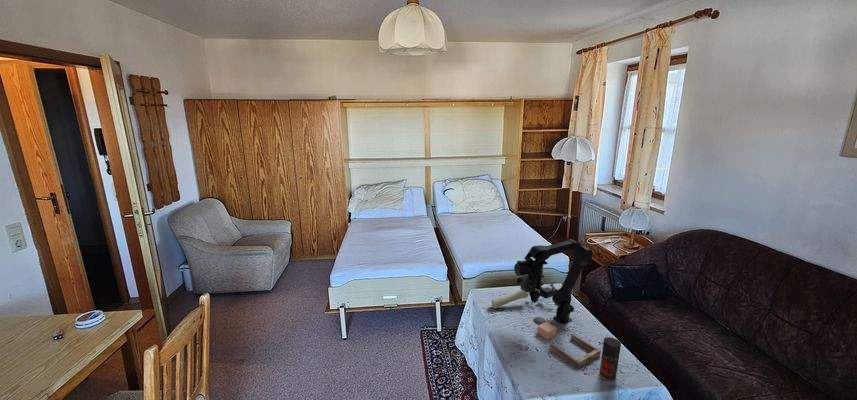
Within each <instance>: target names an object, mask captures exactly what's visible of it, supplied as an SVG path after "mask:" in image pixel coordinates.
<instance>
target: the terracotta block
mask: <svg viewBox="0 0 857 400" xmlns="http://www.w3.org/2000/svg"><path fill="white" fill-rule="evenodd" d="M536 330H537V331H536V332H537V334H538V335H540V336H542V337H543V338H545V339H546V340H549V339H551V338H553V337H555V336H557V327H556V326H554V325H552V324H551V323H549V322H547V321H546V322H545V323H542V324H537V329H536Z"/></svg>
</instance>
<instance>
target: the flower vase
mask: <svg viewBox="0 0 857 400" xmlns="http://www.w3.org/2000/svg"><path fill="white" fill-rule="evenodd" d="M549 287H550V289H552V290H554V291H555V289H557V288H556V287H555V285H554V282H550V284H549ZM528 297H530V294H529V293H528V292H525V291H524V290H519V291H516V292H514V293H512V294H509V295H504V296H502V297H498V298H495V299H491V306H492V307H493V309H494V310H495V309H498V308H500V307H502V306H505V305H507V304H509V303H512V302H514V301H517V300H520V299H527V298H528ZM536 303H537V304H538V305H540V303H539V301H538V300H537V302H536Z"/></svg>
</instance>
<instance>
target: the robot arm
mask: <svg viewBox="0 0 857 400" xmlns="http://www.w3.org/2000/svg"><path fill="white" fill-rule="evenodd" d="M569 251H573V253H572V263H571V266H570V268H569V270H568V272H567V275H566V276H565V279H564V281H563V283H562V285H561V287H560V288H558V289H557V288H556V289H555V290H552V289H551V287H548V286H545V287H544V283H543V278H544V277H545V275H544V273H543V271H544V265H548V262H547V261H546V260H548V259H550V257H552V256H555V255H558V254H562V253H563V254H564V253H566V252H569ZM593 255H594V253H593V251H592V250H591V249H589V248H588V247H585V246H584V245H581V244H579V243H578V242H577V241H576V240H573V239H567V240H564V241H561V242H557V243H553V244H550V245H534V246H531V247H530V250H529V251H528V253H526V255H525V256H524V258H523V260H517V261H516V263H515V265H514V266H513V269H514V274H515V275H516V276H518V277H517V278H516V283H517V285H519V287H520V289H521V290H524V291H525V292H527V293H528V294H530V296H529V298H530V301H531V303H533V304H536V303H538V302H537V301H538V300H539V298H540V297H541V298H544V299H549V298H551V300H552V302H553V303H554V305H555V306H557V308H556V312H555V313H556V314H555V315H554V316H553V320H557V321H558V322H560V323H561V324H567V323H569V322H572V320H573V319H572V318H570V315H571V313H573V312H574V310H575V307H574V306H573V305H572V304H571V303H572V291H573V289H574V288H575V285H576V283H577V281H578V278H579V276H580V274H581V272H582V270H583V268H584V267H585V266H586V265H588V264H589V263H590V261H591V260H592V258H593ZM521 290H520V291H521Z"/></svg>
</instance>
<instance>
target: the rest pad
mask: <svg viewBox="0 0 857 400" xmlns="http://www.w3.org/2000/svg"><path fill="white" fill-rule="evenodd" d="M533 322H534V323H535V324H537V325H540V324H542V323H545V322H547V321H546V319H545V318H544V317H539V316H536V317H534V318H533Z"/></svg>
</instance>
